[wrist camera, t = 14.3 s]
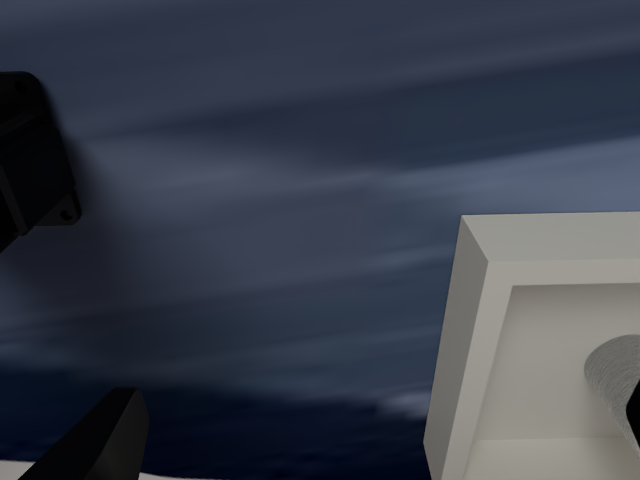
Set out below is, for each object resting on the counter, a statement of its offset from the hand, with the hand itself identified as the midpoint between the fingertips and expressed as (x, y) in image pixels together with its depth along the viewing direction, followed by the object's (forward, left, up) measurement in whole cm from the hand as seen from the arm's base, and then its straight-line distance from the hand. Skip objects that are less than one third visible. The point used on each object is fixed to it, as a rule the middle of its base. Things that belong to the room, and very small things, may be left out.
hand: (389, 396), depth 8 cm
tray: (+14, -12, -13) cm, 23 cm away
